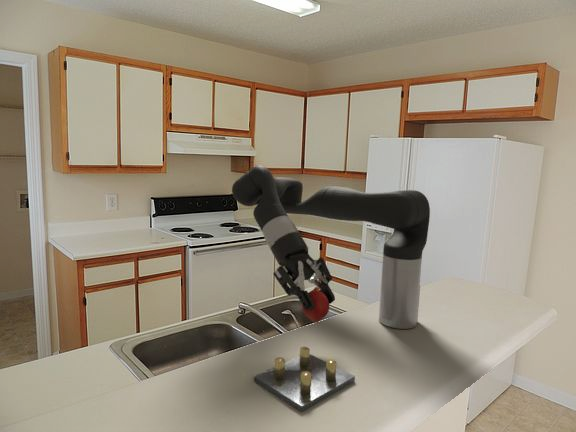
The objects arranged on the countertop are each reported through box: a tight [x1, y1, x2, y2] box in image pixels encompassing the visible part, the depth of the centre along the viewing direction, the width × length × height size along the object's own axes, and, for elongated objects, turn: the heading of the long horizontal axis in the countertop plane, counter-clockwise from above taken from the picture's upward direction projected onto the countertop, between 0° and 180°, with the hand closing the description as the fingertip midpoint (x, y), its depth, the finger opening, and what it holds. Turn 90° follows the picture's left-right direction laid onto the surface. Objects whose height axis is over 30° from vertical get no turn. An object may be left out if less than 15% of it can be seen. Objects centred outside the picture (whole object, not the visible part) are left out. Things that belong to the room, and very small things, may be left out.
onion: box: [301, 286, 330, 324], centre depth 88 cm, size 6×6×8 cm
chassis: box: [253, 346, 356, 413], centre depth 75 cm, size 14×12×4 cm
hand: (321, 305), depth 86 cm, fingers closed on onion, 5 cm apart
